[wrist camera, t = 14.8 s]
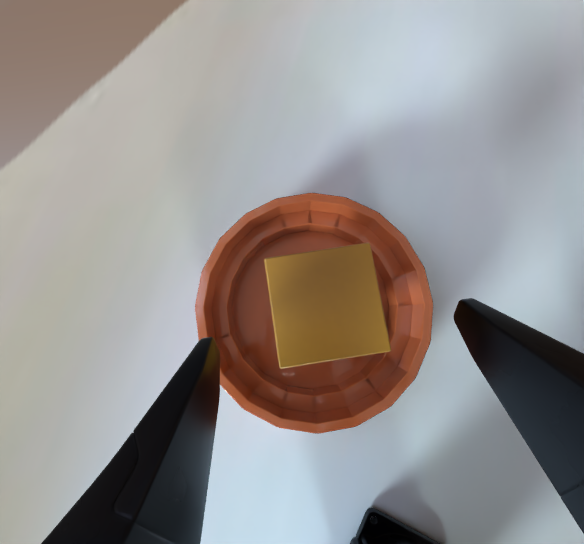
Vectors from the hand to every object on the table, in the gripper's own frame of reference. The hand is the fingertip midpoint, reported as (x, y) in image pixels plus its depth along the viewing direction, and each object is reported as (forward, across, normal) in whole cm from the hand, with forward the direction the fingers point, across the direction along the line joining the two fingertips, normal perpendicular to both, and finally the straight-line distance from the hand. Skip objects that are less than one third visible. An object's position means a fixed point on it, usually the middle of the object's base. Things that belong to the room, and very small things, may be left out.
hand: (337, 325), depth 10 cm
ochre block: (+8, 0, +7) cm, 11 cm away
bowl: (+9, 0, +8) cm, 12 cm away
